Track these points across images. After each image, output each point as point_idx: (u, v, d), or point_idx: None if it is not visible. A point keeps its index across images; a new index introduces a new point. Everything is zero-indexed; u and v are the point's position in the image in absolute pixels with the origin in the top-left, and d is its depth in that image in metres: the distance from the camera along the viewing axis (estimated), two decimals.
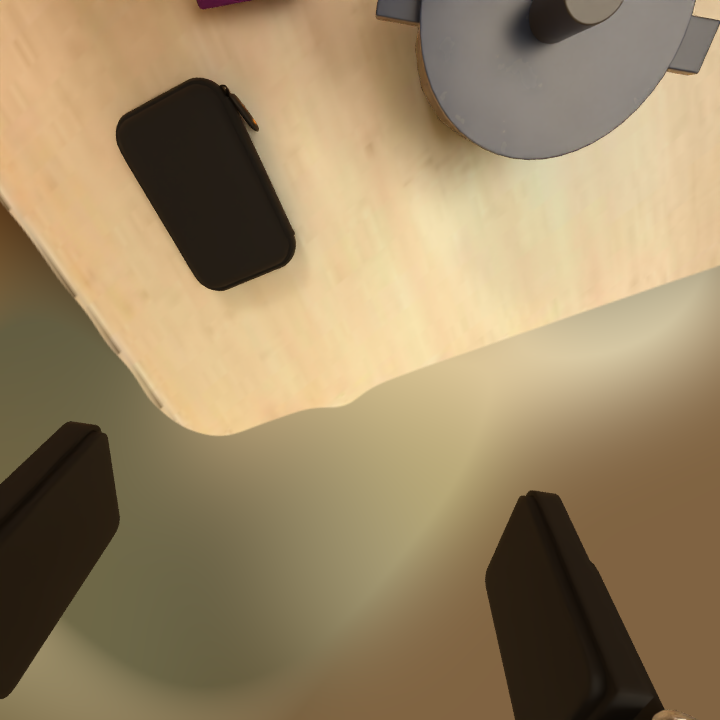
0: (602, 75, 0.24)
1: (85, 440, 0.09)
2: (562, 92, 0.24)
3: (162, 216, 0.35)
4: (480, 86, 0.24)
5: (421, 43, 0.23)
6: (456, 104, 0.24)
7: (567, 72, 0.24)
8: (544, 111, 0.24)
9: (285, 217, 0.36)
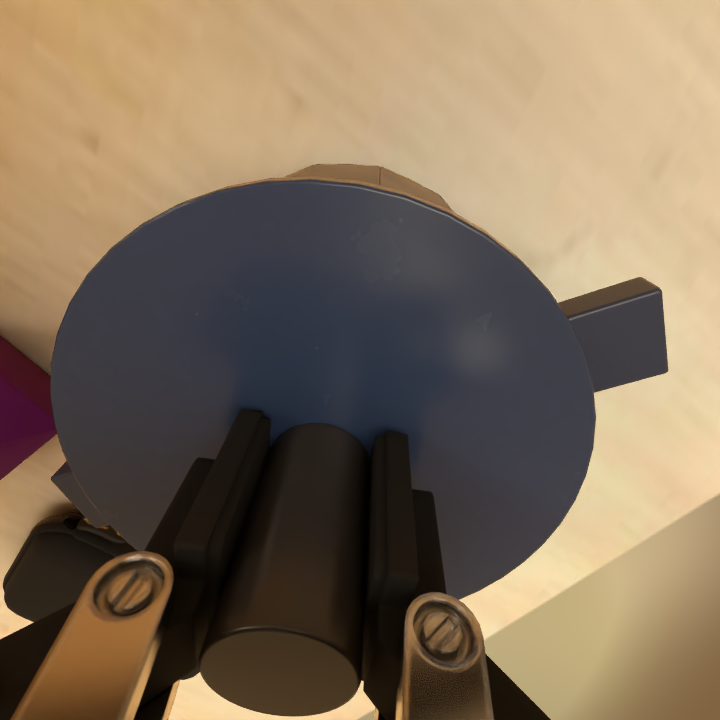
0: (470, 492, 0.12)
1: (260, 425, 0.10)
2: None
3: None
4: None
5: None
6: None
7: None
8: None
9: None
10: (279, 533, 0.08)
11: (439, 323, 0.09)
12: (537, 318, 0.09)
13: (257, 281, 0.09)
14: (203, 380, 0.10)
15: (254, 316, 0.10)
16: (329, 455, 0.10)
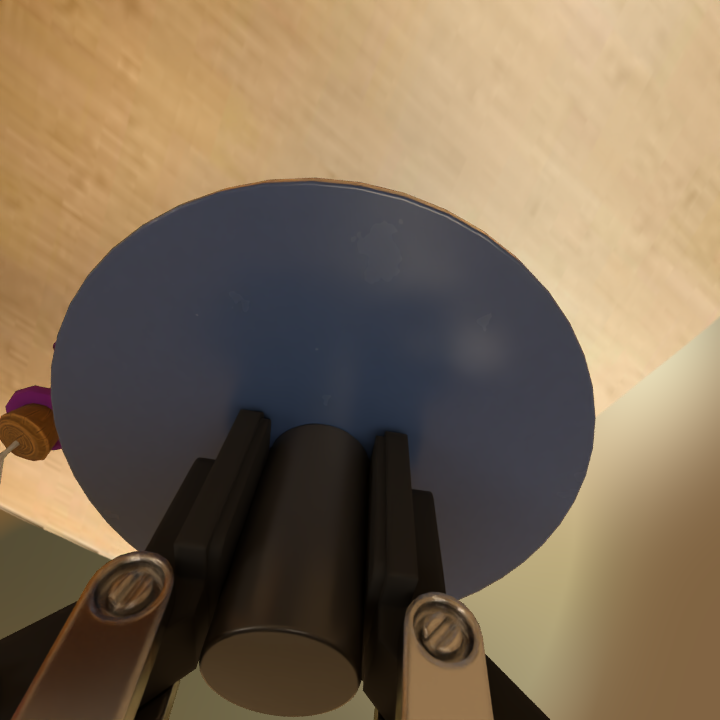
0: (470, 493, 0.12)
1: (260, 425, 0.10)
2: None
3: None
4: None
5: None
6: None
7: None
8: None
9: None
10: (279, 534, 0.08)
11: (439, 324, 0.09)
12: (537, 319, 0.09)
13: (257, 282, 0.09)
14: (203, 381, 0.10)
15: (254, 317, 0.10)
16: (329, 456, 0.10)
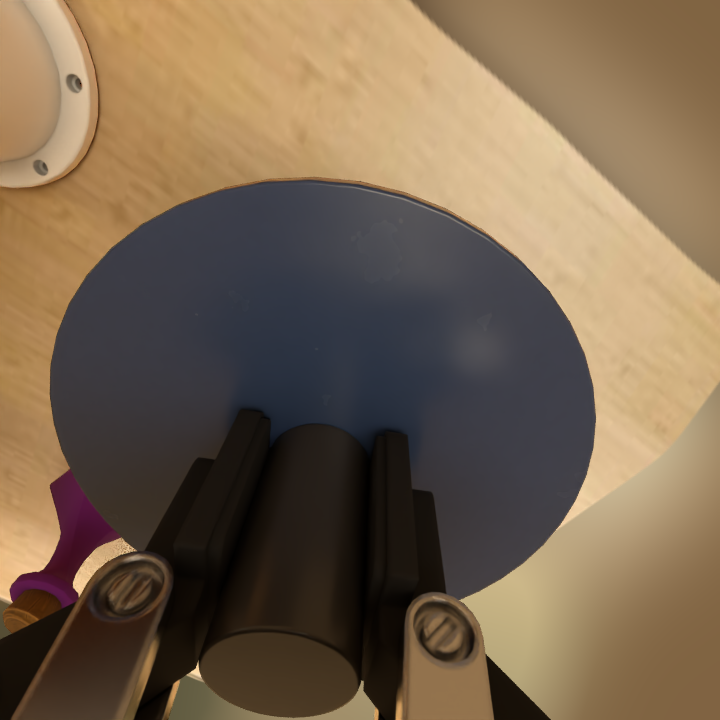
0: (470, 493, 0.12)
1: (260, 425, 0.10)
2: None
3: None
4: None
5: None
6: None
7: None
8: None
9: None
10: (279, 534, 0.08)
11: (439, 324, 0.09)
12: (537, 319, 0.09)
13: (257, 282, 0.09)
14: (203, 381, 0.10)
15: (254, 317, 0.10)
16: (329, 456, 0.10)
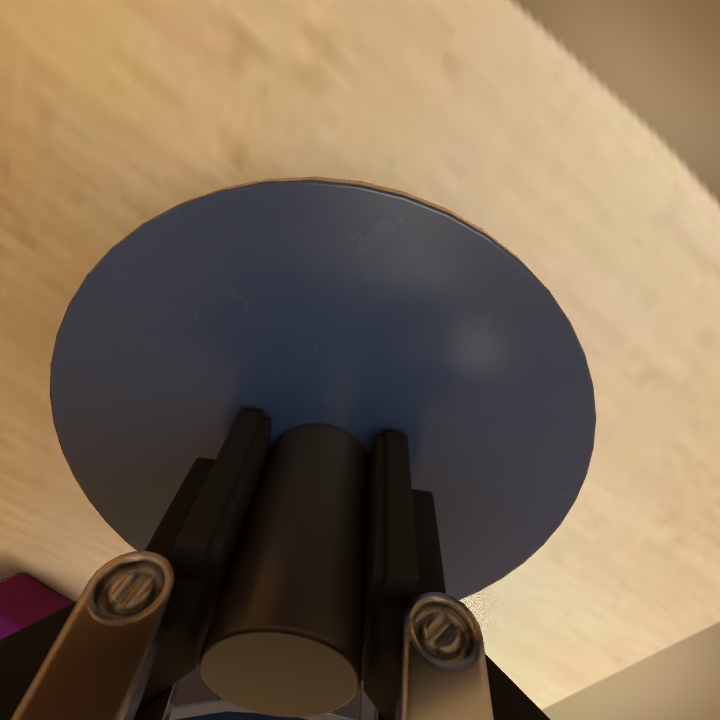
0: (470, 493, 0.12)
1: (260, 425, 0.10)
2: None
3: None
4: None
5: None
6: None
7: None
8: None
9: None
10: (279, 534, 0.08)
11: (439, 324, 0.09)
12: (537, 318, 0.09)
13: (257, 282, 0.09)
14: (203, 381, 0.10)
15: (254, 317, 0.10)
16: (329, 456, 0.10)
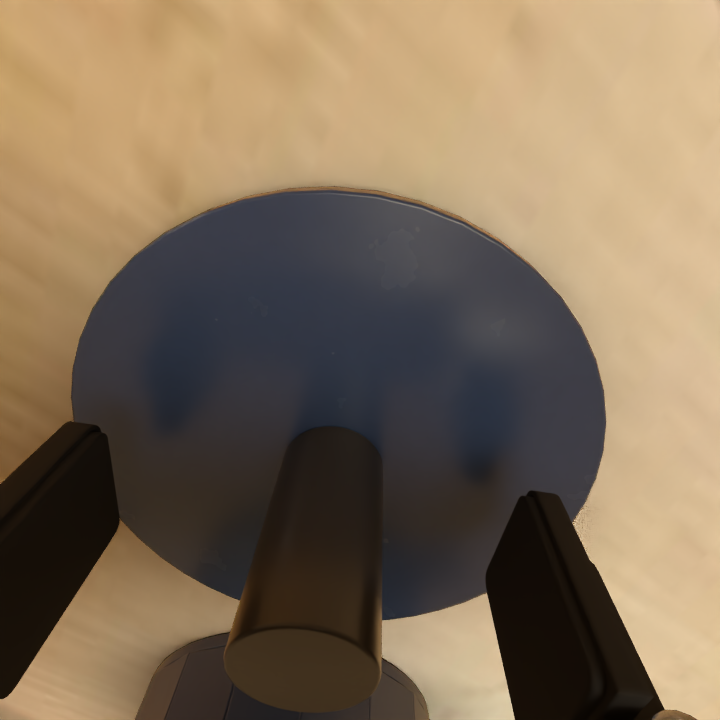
0: (481, 495, 0.12)
1: (85, 440, 0.09)
2: (429, 534, 0.13)
3: None
4: None
5: (175, 566, 0.14)
6: None
7: (417, 513, 0.12)
8: (418, 561, 0.13)
9: None
10: (300, 534, 0.08)
11: (453, 329, 0.10)
12: (550, 324, 0.09)
13: (276, 288, 0.09)
14: (221, 384, 0.11)
15: (272, 322, 0.10)
16: (345, 458, 0.10)
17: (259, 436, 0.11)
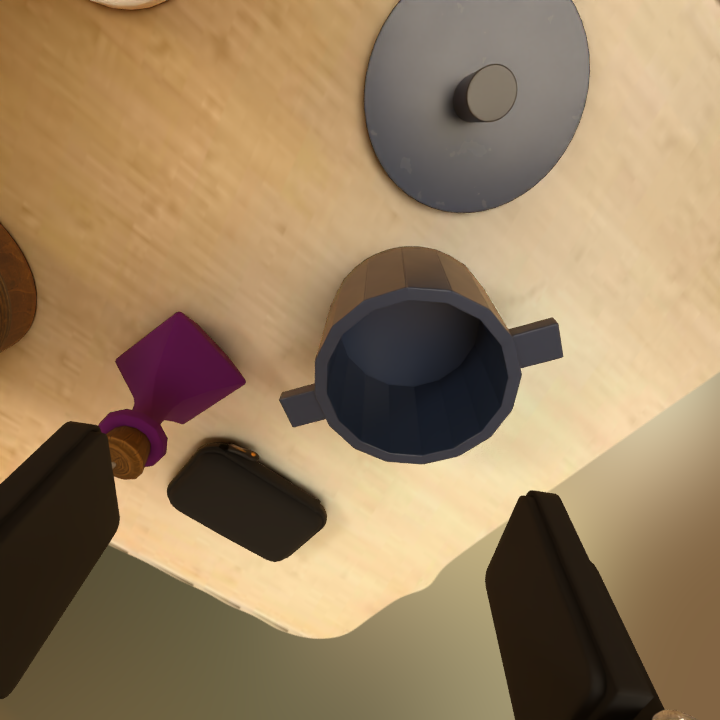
0: (536, 117, 0.28)
1: (85, 440, 0.09)
2: (510, 144, 0.28)
3: (222, 535, 0.45)
4: (444, 174, 0.29)
5: (386, 171, 0.29)
6: (432, 195, 0.30)
7: (506, 129, 0.28)
8: (503, 164, 0.29)
9: (307, 498, 0.43)
10: None
11: (533, 19, 0.25)
12: (570, 18, 0.25)
13: None
14: (436, 49, 0.26)
15: (464, 15, 0.25)
16: None
17: (445, 80, 0.27)
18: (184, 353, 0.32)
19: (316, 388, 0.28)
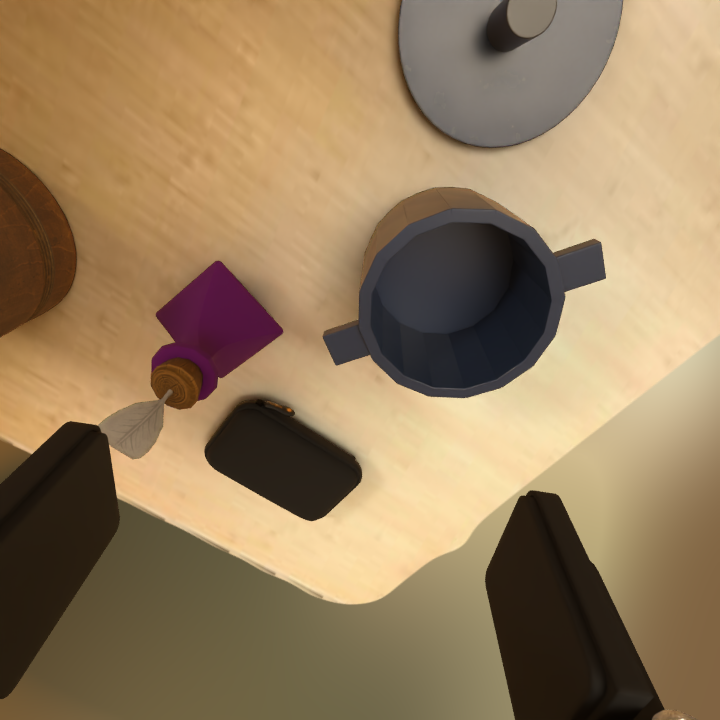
0: (569, 42, 0.28)
1: (85, 440, 0.09)
2: (544, 73, 0.29)
3: (260, 494, 0.45)
4: (478, 108, 0.30)
5: (420, 107, 0.30)
6: (466, 130, 0.30)
7: (540, 57, 0.28)
8: (537, 94, 0.29)
9: (342, 454, 0.44)
10: None
11: None
12: None
13: None
14: None
15: None
16: None
17: (479, 9, 0.27)
18: (225, 300, 0.33)
19: (360, 321, 0.28)
